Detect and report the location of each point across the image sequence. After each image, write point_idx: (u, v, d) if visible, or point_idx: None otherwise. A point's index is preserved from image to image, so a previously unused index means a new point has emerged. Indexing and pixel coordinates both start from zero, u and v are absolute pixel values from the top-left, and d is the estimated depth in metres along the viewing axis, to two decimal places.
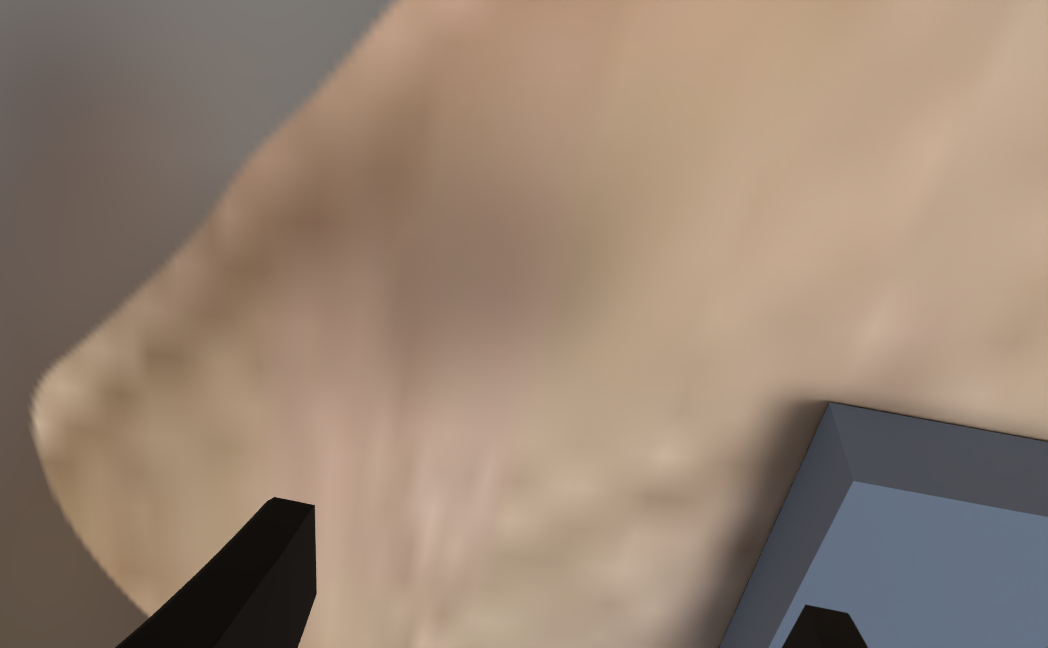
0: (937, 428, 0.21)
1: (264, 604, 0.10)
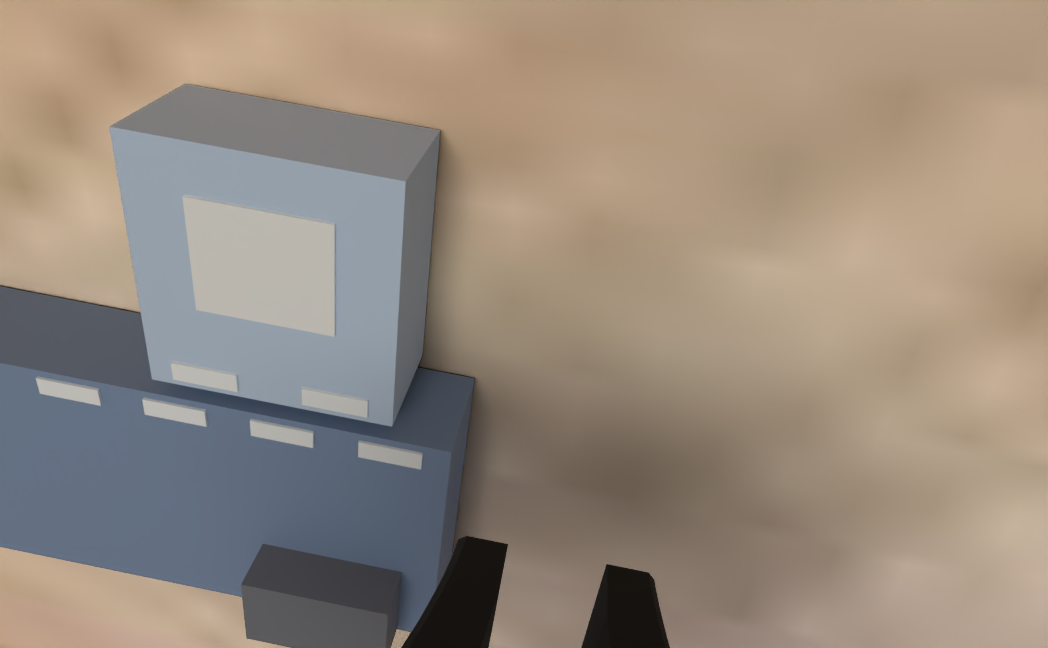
0: None
1: None
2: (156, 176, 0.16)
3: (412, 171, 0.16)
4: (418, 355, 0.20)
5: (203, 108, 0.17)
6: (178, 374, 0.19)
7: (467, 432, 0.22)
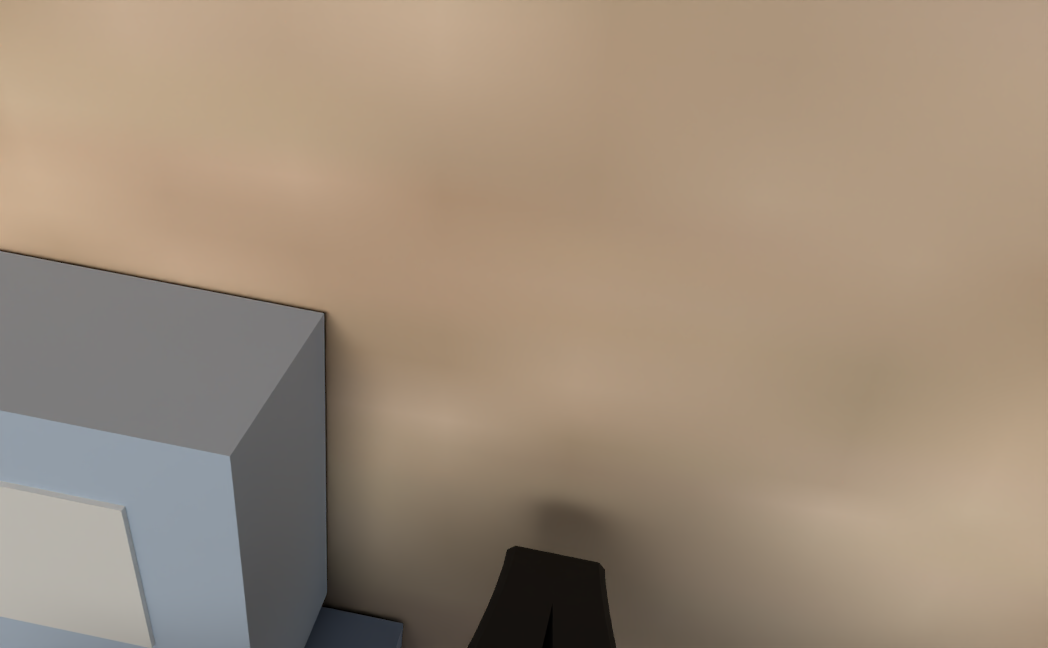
0: None
1: None
2: None
3: (250, 425, 0.09)
4: (316, 604, 0.14)
5: None
6: None
7: None
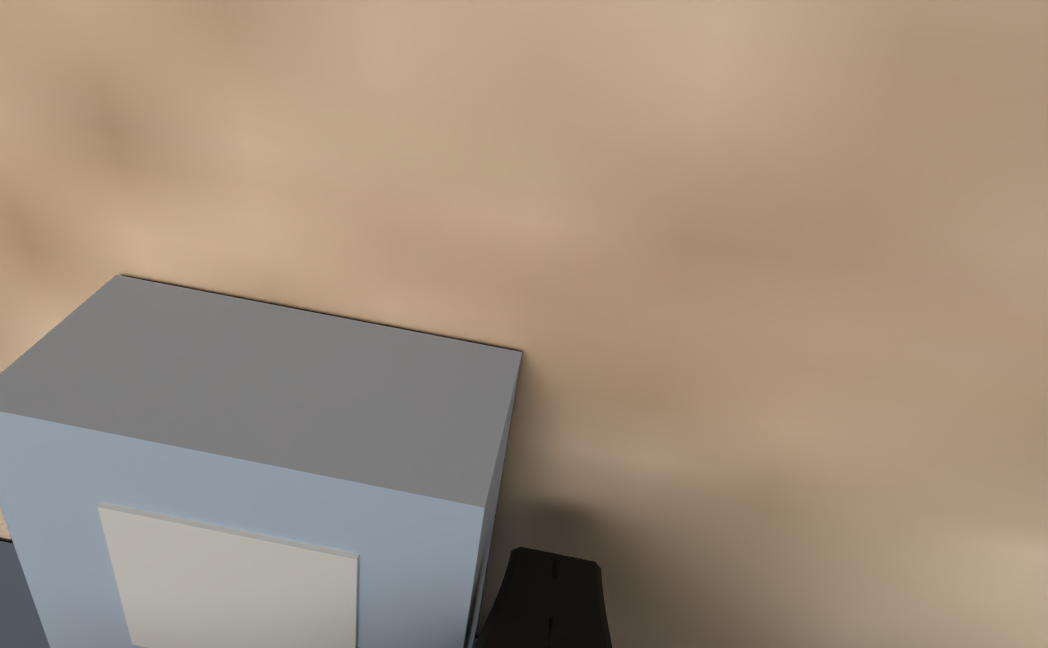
0: None
1: None
2: (52, 475, 0.09)
3: (492, 473, 0.09)
4: (473, 636, 0.14)
5: (139, 333, 0.10)
6: None
7: None
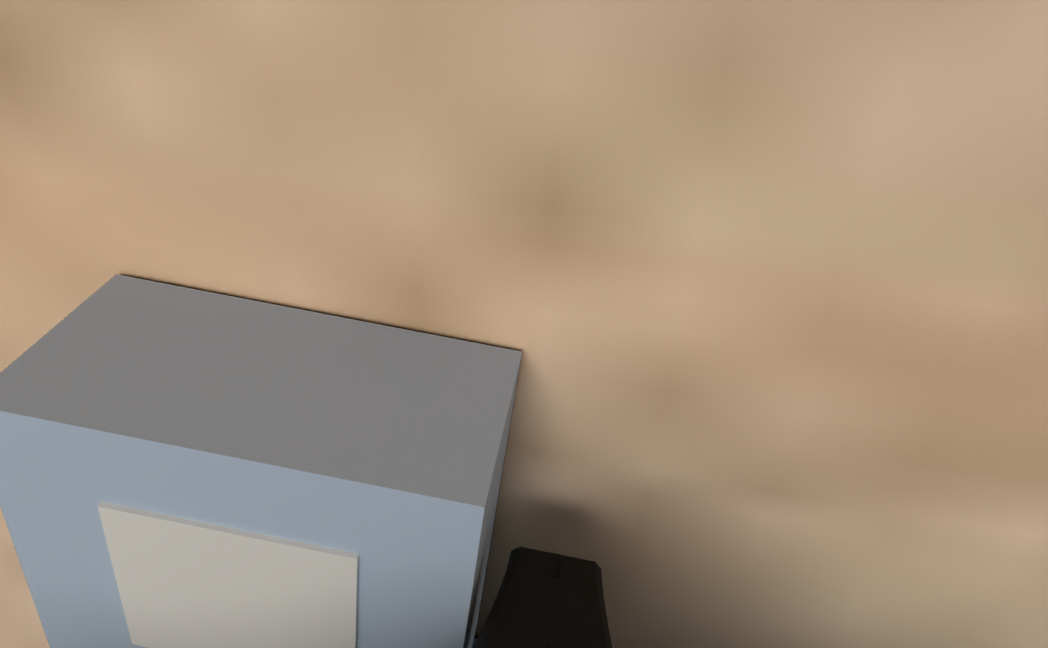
0: None
1: None
2: (52, 474, 0.09)
3: (492, 473, 0.09)
4: (473, 636, 0.14)
5: (139, 333, 0.10)
6: None
7: None
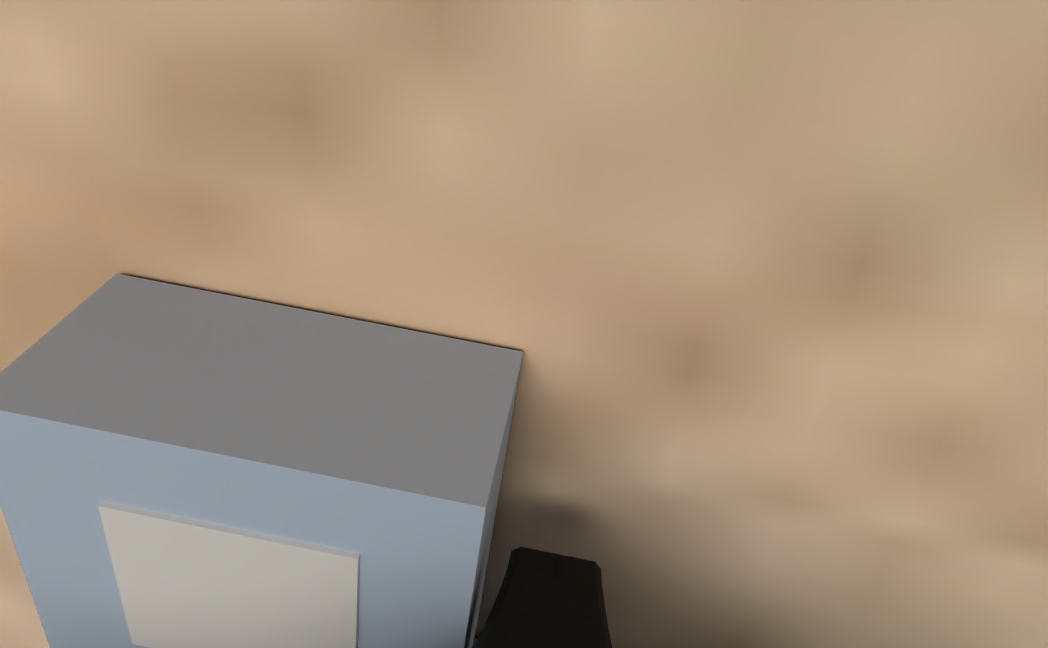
0: None
1: None
2: (53, 474, 0.09)
3: (493, 473, 0.09)
4: (473, 636, 0.14)
5: (141, 333, 0.10)
6: None
7: None
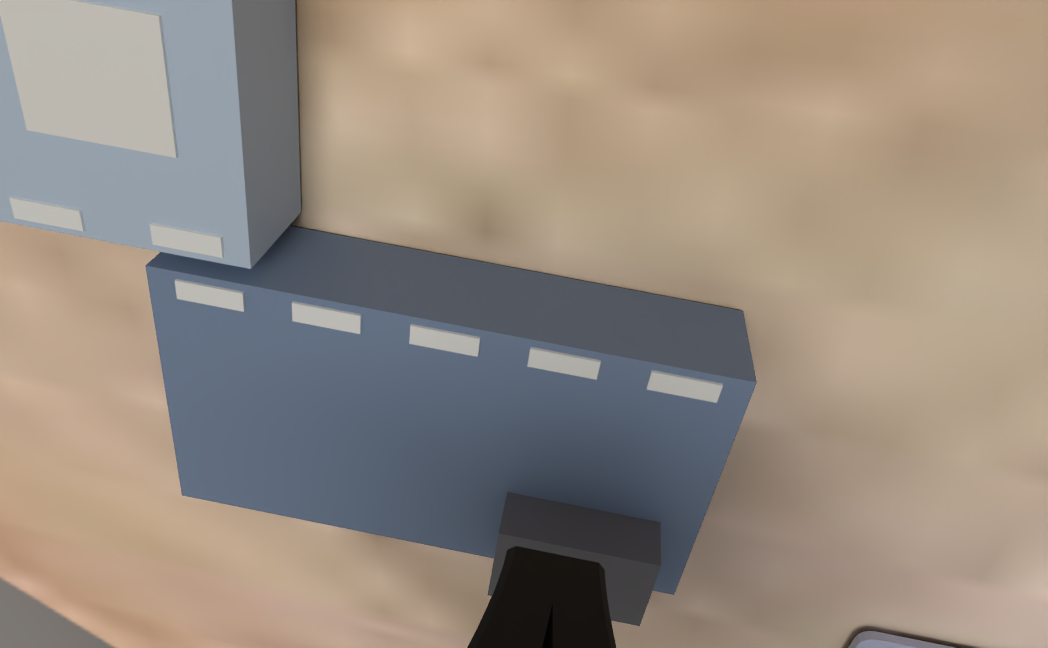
0: None
1: None
2: None
3: None
4: (292, 207, 0.19)
5: None
6: (19, 212, 0.17)
7: None
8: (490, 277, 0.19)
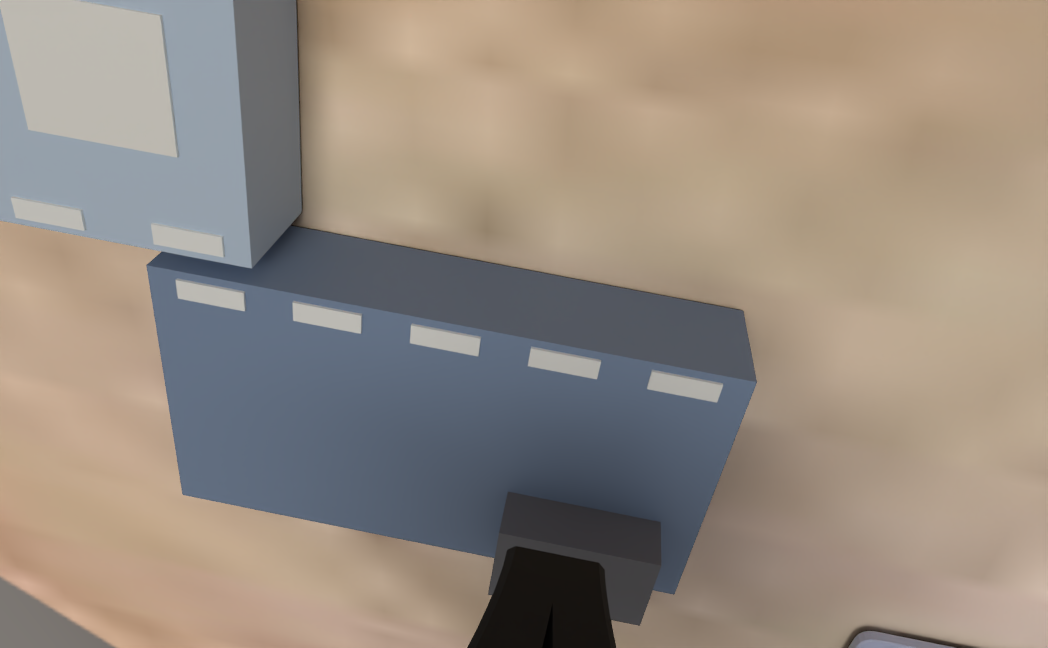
0: None
1: None
2: None
3: None
4: (293, 207, 0.19)
5: None
6: (20, 211, 0.17)
7: None
8: (491, 277, 0.19)
